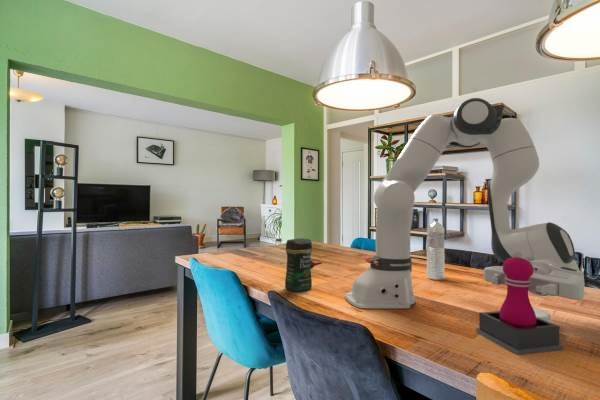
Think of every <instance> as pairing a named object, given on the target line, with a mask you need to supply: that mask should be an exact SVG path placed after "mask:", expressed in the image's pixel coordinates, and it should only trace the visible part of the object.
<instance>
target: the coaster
mask: <svg viewBox="0 0 600 400" xmlns="http://www.w3.org/2000/svg"><path fill="white" fill-rule="evenodd" d="M532 308H533V310H534V312H535V315H536V317H537V318H540V319H542V320H545V321H547V322H550V323H552V315H551V313H549V312H548V311H546V310H544V309H542V308H538V307H534V306H532Z"/></svg>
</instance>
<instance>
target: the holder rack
mask: <svg viewBox="0 0 600 400" xmlns="http://www.w3.org/2000/svg"><path fill="white" fill-rule="evenodd" d="M499 314H500V310H494V311H482V312H479V316H478V318H479V320H478V321H479V322H478V323H479V324H478V326H479V327H475V332H476V333H477V334H479V335H481V336H482V337H484V338H486V339H488V340H490V341H492V342H493V343H495V344H497V345H499V346H501V347H503V348H504V349H506V350H508V351H510V352H511V353H514V354H515V355H517V356H519V355H528V354H537V353H546V352H555V351H563V350H564V348H565V347H564V344H561V342H560V328H561V327H560V326H559V325H557V324H554V323H552V322H551V323H550V322H547V321H545V320H542V319H540V318H537V317H536V325H535V326H534V327H525V328H516V327H514V326H512V325H510V324H507V323H505V322H503V321H502V320H501V319H500V316H499Z"/></svg>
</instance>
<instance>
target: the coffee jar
mask: <svg viewBox="0 0 600 400" xmlns="http://www.w3.org/2000/svg"><path fill="white" fill-rule="evenodd" d="M312 244H313V243H312V240H311V239H309V238H292V239H287V240H286V243H285V253H286V272H285V282H284V286H285V289H286V290H287V291H289V292H291V291H292V292H303V291H304V292H305V291H308V290H311V289H312V283H313V282H312V280H313V279H312V272H311V271H312V269H311V266H310V260H311V256H312V251H313V245H312Z"/></svg>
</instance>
